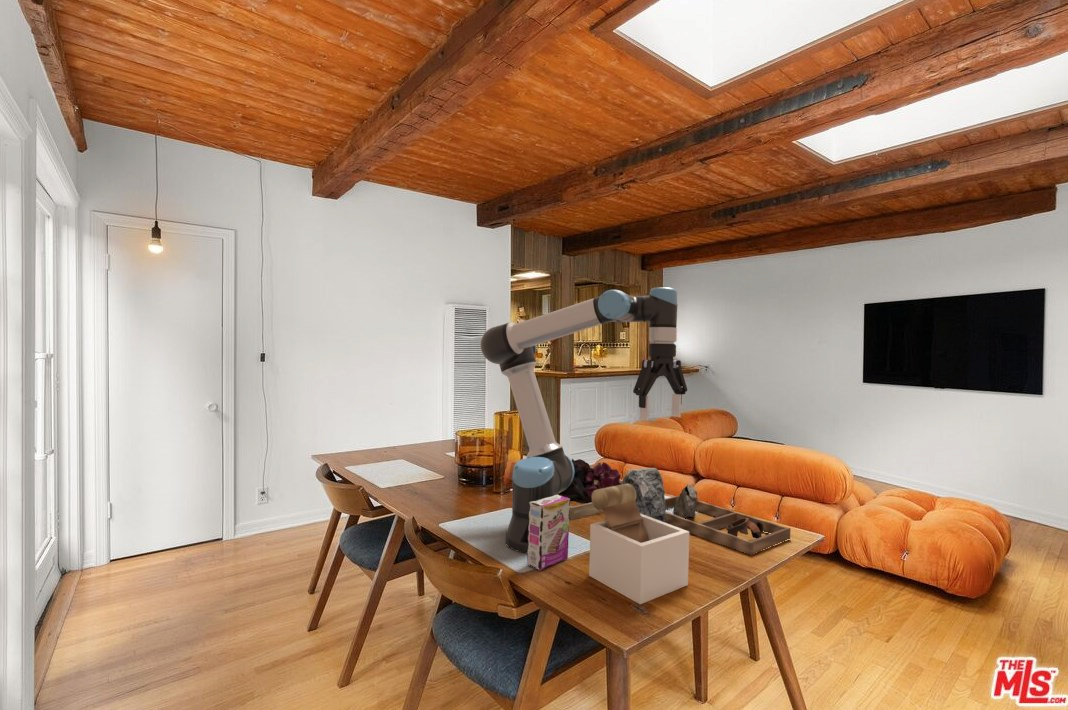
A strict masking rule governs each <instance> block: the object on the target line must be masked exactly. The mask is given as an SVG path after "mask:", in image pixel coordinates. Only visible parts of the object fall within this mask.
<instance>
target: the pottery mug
mask: <svg viewBox="0 0 1068 710" xmlns="http://www.w3.org/2000/svg"><path fill="white" fill-rule="evenodd" d="M731 524H732V525H731V526H730V525H728V526H727V527H725V529H726V531H727V532H726V533H728V534H731V535H734V536H737V537H738V534H739V533H740V534H743V535H749V531H748V529H749V530H750V532H751V535H752V538H753V539H757V538H760V537H763V536H762V534H763V524H762V523H761V521H759V520H753V521H751V522H750V520H749V518H741V519H739V520H736V521H734V522H732V523H731ZM748 527H749V528H748Z"/></svg>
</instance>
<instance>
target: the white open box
mask: <svg viewBox="0 0 1068 710" xmlns="http://www.w3.org/2000/svg"><path fill="white" fill-rule="evenodd" d="M640 515H641V517H642V520H643V522H642V524H643V526H644V529H645V532H646V534H647V537H648V539H649V541H646V542H643V543H640V542H638V541H635V540H633V539H631V538H628V537H626V536H624V535H621V534H619V533H617V532H615V531H612V530H610V529H608V528H609V527H608V524H607V521H606V519H605V520H601V521H598V522H593V523H590V527H589V529H590V530H589V535H590V536H589V565H588V566H589V571H588V572H589V574H588V576H589V577H591V578H593V579H594V580H596V581H597V582H600V583H601V584H604V585H605V586H607V587H609V588H610V589H612V590H613V591H616V592H617V593H619V594H621V595H623V596H624V597H626V598H628V599H630V600H631V601H633V602H635V603H637V604H639V605H642V604H645V603H648V602H651V601H652V600H655V599H657V598H660V597H662V596H664V595H667V594H669V593H672V592H675V591H676V590H679V589H681V588H685V587H686V586H689V562H690V561H689V559H690V558H689V556H690V555H689V554H690V533H689V531H686V530H684V529H681V528H678V527H676V526H673V525H670V524H667V523H665V522H662V521H659V520H657V519H654V518H651V517H648V516H646V515H643V514H640Z"/></svg>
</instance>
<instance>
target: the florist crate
mask: <svg viewBox="0 0 1068 710" xmlns="http://www.w3.org/2000/svg"><path fill="white" fill-rule="evenodd" d="M619 482H620V483H622V484H623V479H621V478H620V481H619ZM597 483H598V480H594V484H597ZM599 514H604V513H603V510H597V509H596V508H595V507H594V505H593V503H592V502H591V503H582V504H579V505H570V512H569V521H570V520H571V521H573V520H579V519H581V518H587V517H590V516H594V515H595V516H596V515H599Z"/></svg>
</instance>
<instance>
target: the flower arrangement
mask: <svg viewBox="0 0 1068 710" xmlns="http://www.w3.org/2000/svg"><path fill="white" fill-rule="evenodd" d="M571 461H572V463H573V466H574V478H573V480H572V482H571V484H570V485H569V486H568V487H567V489H565V490H564V491H563V492H560V493H559V494H564V495H563V496H564V497H567V498H570V501H572V500H573V501H574V500H575V501H580V502H583V503H584V504H587V503H591V502H592V493H593V491H594V490H597V489H602V488H607V487H612V486H617V485H622V483H620V482H619V481H620V479H621V476H622V475H621V474H620V473H619V470H618V469H614V468H613V469H612V467H611V465H610V464H608V463H607V462H604V461H603V462H602V464H601V462H598V463H597V464H596V465H594V467H591V466H590V464H589V462H586V461H585V460H584V459H576V460H575V459H573V458H571ZM594 480H598V483H597V484H594Z"/></svg>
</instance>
